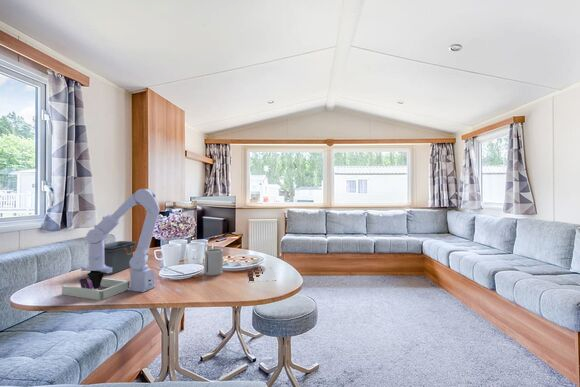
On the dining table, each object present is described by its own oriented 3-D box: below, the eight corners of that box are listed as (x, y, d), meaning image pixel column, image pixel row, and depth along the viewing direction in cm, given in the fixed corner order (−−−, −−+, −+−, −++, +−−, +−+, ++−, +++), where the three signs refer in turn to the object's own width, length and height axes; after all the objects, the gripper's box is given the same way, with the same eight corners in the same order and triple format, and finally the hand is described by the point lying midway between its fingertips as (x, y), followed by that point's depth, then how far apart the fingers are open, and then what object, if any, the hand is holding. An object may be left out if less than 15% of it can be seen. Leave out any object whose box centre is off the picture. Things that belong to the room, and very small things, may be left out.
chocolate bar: (246, 268, 169) (246, 266, 169) (270, 267, 171) (270, 265, 171) (248, 283, 142) (248, 281, 142) (276, 281, 145) (276, 279, 145)
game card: (81, 278, 123) (98, 273, 131) (70, 283, 123) (88, 277, 132) (86, 294, 122) (103, 288, 131) (75, 298, 123) (93, 292, 131)
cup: (225, 270, 162) (225, 248, 162) (219, 275, 153) (219, 252, 153) (208, 270, 163) (208, 248, 163) (202, 275, 154) (202, 251, 154)
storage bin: (117, 265, 173) (117, 240, 173) (142, 266, 171) (142, 241, 171) (88, 275, 152) (88, 247, 152) (115, 276, 150) (115, 248, 150)
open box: (129, 289, 132) (129, 281, 132) (101, 300, 118) (101, 291, 118) (92, 284, 138) (92, 276, 138) (61, 294, 124) (61, 286, 124)
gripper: (118, 255, 130) (118, 286, 130) (91, 253, 133) (91, 284, 134) (104, 259, 123) (104, 292, 123) (76, 257, 127) (76, 289, 127)
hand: (96, 288), depth 128 cm, fingers closed
